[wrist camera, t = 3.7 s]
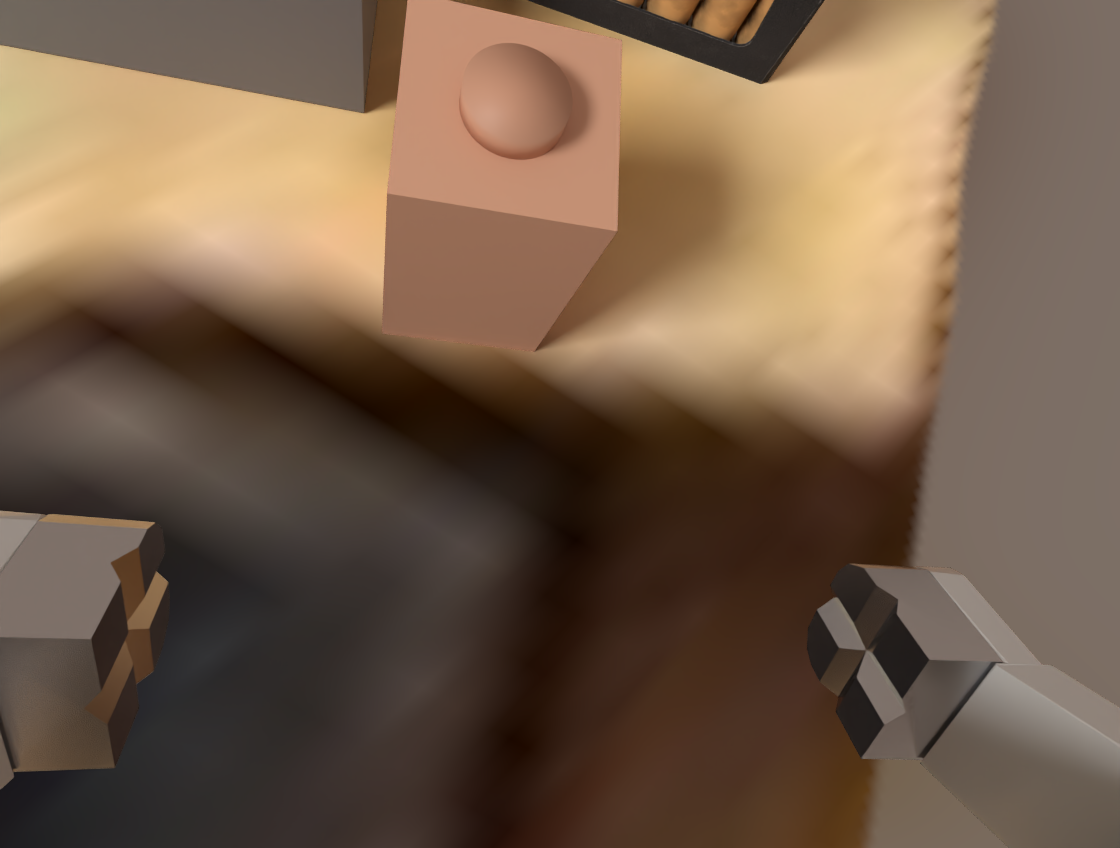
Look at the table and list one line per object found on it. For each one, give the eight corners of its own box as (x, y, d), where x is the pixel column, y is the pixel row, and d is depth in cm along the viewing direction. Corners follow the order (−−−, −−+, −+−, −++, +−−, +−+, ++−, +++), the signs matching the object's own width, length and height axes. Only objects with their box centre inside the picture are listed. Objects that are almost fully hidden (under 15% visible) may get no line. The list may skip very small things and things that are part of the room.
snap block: (381, 333, 21) (387, 176, 13) (396, 193, 22) (410, -33, 14) (534, 351, 22) (627, 216, 14) (540, 217, 23) (631, 19, 15)
